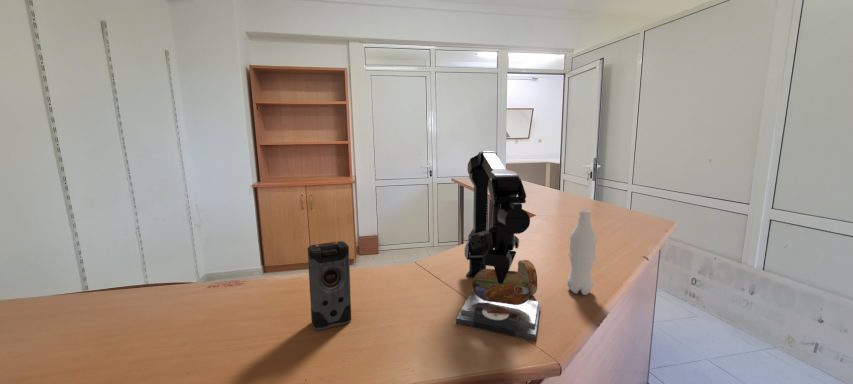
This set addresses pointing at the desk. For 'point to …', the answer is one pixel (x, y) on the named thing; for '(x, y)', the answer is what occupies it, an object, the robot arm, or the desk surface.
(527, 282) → the tin
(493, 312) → the dial scale
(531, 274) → the stone disc
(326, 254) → the electronic device
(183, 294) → the desk surface
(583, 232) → the water bottle
